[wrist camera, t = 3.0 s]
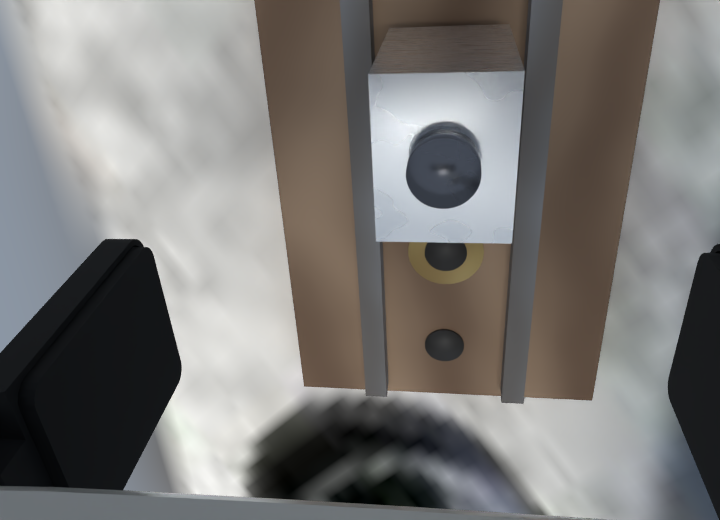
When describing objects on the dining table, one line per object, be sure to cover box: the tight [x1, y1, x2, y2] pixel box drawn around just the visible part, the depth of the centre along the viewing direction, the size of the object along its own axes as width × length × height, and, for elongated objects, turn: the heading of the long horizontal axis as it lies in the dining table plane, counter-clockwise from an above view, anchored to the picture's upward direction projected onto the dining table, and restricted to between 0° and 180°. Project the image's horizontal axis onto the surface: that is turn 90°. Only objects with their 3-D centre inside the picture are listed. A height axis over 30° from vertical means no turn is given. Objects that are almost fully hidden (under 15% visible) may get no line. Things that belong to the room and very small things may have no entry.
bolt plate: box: [254, 0, 660, 404], centre depth 23 cm, size 14×26×8 cm, turn 3°
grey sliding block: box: [368, 24, 525, 244], centre depth 20 cm, size 4×5×8 cm
